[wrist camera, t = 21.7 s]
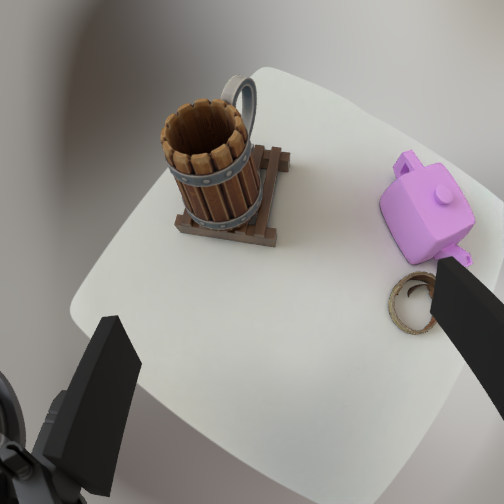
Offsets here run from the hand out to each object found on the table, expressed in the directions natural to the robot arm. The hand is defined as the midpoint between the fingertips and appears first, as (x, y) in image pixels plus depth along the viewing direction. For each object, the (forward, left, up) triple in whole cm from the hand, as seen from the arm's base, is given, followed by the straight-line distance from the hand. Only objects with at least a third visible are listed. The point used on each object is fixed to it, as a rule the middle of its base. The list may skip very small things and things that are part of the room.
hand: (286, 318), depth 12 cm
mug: (-10, +20, -26) cm, 34 cm away
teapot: (+18, +20, -30) cm, 40 cm away
